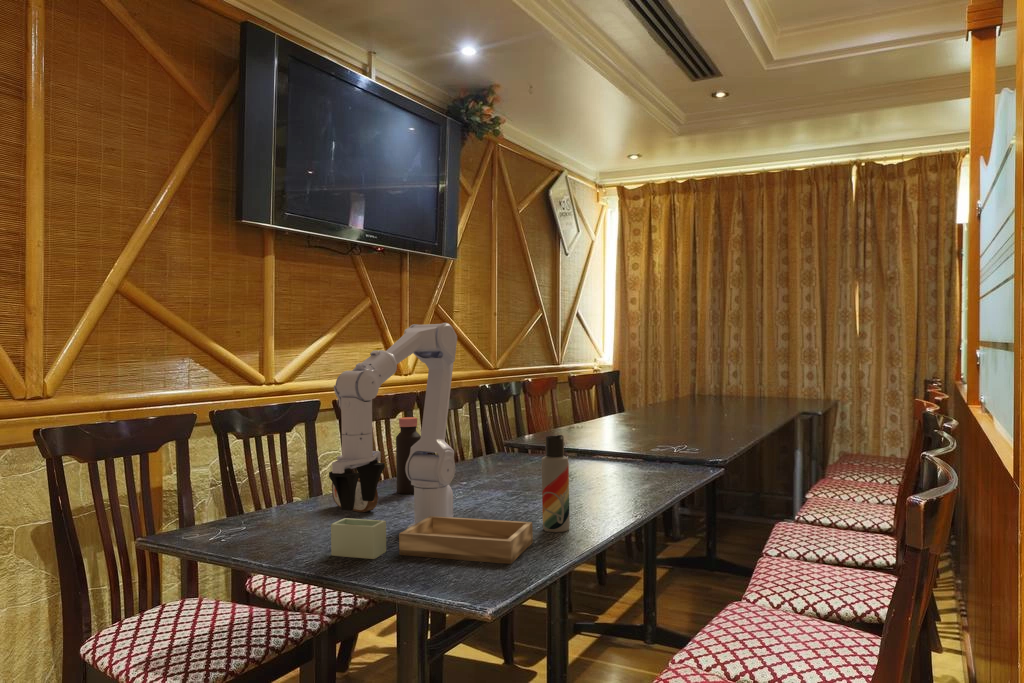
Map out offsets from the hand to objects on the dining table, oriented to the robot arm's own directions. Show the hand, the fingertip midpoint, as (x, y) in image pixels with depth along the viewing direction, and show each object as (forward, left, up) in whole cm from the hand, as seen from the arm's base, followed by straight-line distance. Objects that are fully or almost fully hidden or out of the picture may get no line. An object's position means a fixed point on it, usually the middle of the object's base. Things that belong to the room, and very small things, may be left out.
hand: (358, 505), depth 132 cm
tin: (-32, -20, -9) cm, 39 cm away
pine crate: (-8, +19, -9) cm, 23 cm away
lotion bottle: (-26, +32, -9) cm, 42 cm away
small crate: (0, 0, -9) cm, 9 cm away
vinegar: (-54, -16, -9) cm, 57 cm away
